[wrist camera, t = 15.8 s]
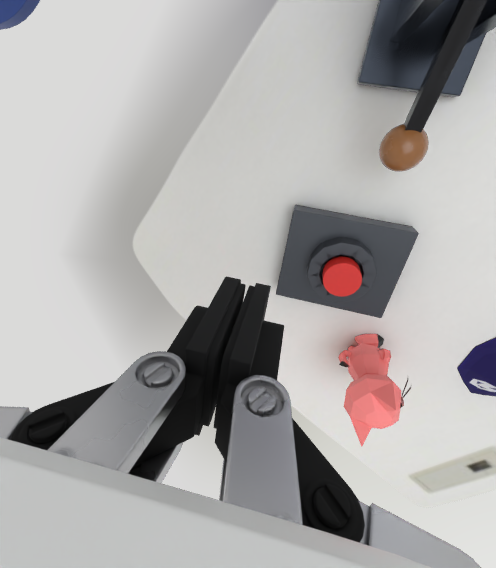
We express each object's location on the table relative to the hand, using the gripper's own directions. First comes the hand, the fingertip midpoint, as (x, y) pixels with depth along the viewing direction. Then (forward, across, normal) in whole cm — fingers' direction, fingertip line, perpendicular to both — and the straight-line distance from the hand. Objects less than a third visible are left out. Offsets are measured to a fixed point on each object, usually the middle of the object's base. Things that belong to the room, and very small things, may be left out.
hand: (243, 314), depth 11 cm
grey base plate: (+22, -7, +6) cm, 24 cm away
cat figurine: (+22, -13, +17) cm, 31 cm away
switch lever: (+16, -8, -11) cm, 21 cm away
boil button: (+19, -7, +6) cm, 21 cm away
